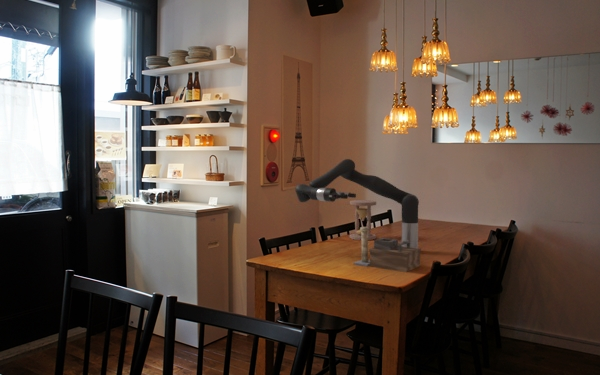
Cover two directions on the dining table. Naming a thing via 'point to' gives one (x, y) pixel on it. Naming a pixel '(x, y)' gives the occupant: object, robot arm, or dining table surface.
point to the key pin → (364, 243)
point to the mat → (362, 263)
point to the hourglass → (363, 213)
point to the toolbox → (394, 255)
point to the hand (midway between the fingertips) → (351, 196)
